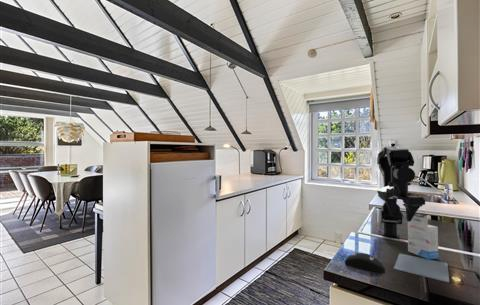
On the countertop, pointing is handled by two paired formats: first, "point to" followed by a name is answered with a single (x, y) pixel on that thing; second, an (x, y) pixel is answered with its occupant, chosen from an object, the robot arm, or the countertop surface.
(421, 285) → the countertop surface
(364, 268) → the computer mouse
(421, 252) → the ink box
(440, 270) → the mat
